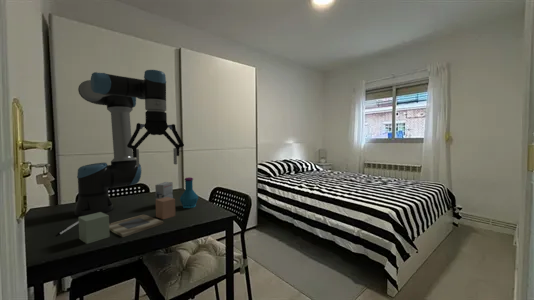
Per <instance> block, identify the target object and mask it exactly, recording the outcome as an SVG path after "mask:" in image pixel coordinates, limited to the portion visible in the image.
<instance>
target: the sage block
mask: <svg viewBox="0 0 534 300" xmlns="http://www.w3.org/2000/svg"><path fill="white" fill-rule="evenodd" d="M77 218H78V220H77V221H79V223H78V235H79V236H78V238H79V240H80V241H82V242H83V243H85V244H91V243H94V242H97V241H100V240H103V239H107V238H110V237H111V236H110V232H111V231H110V230H109V224H110V215H108V214H106V213H102V212H99V213H94V214H90V215H86V216H77Z"/></svg>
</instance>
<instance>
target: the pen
mask: <svg viewBox="0 0 534 300" xmlns="http://www.w3.org/2000/svg"><path fill="white" fill-rule="evenodd" d="M76 225H79V220H77V221H76V222H74V223H72V224H71V225H69V226H68V227H65V228H63V229H62V230H60V231H59V232H58V233H57V234H56V235H55V237H58V236H60V235H62V234H63V233H66V232H67V231H68V230H70V229H72V228H73V227H74V226H76Z"/></svg>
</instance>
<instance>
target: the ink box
mask: <svg viewBox="0 0 534 300" xmlns="http://www.w3.org/2000/svg"><path fill="white" fill-rule="evenodd" d="M173 188H174V186H173V181H164V182H160V183H157V184H155V190H154V191H155V200H156V199H161V198H165V197H170V198H174V194H173V193H174V191H173Z"/></svg>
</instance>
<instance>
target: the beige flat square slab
mask: <svg viewBox="0 0 534 300" xmlns="http://www.w3.org/2000/svg"><path fill="white" fill-rule="evenodd" d="M163 224H164V221H163V220H162V219H158V218H155V217H152V216H150V215H147V214H140V215H136V216H132V217H129V218H125V219H121V220H118V221H114V222H111V223H110V222H109V231H110V232H111V233H114V234H115V235H118V236H120V237H122V238H124V237H125V238H126V237H128V236H131V235H133V234H137V233H140V232H143V231H146V230H149V229H152V228H156V227H159V226H161V225H163Z"/></svg>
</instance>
